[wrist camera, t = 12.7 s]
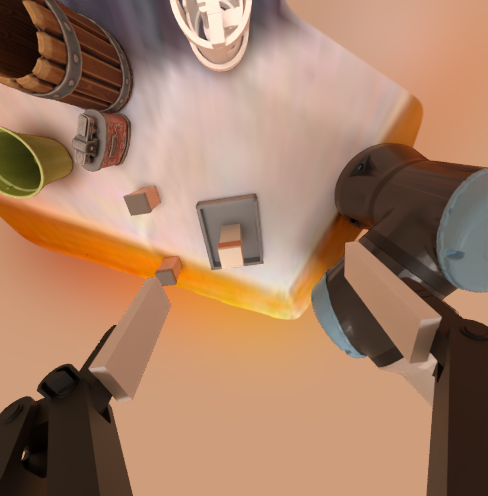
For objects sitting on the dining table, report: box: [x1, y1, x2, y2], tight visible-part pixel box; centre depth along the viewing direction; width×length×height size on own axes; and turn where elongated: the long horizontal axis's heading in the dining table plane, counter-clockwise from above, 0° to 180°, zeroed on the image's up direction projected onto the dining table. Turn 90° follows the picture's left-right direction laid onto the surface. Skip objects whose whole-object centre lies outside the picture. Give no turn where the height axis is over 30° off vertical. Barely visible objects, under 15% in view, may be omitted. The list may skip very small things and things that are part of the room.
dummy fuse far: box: [155, 256, 182, 286], centre depth 44 cm, size 3×3×6 cm
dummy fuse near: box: [124, 186, 161, 216], centre depth 37 cm, size 3×3×6 cm
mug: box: [0, 0, 132, 113], centre depth 23 cm, size 16×11×15 cm
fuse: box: [218, 223, 244, 269], centre depth 39 cm, size 4×4×10 cm
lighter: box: [72, 109, 131, 172], centre depth 31 cm, size 8×3×10 cm, turn 155°
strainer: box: [170, 0, 252, 72], centre depth 23 cm, size 7×7×15 cm
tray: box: [196, 194, 264, 270], centre depth 42 cm, size 11×14×3 cm
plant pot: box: [0, 126, 73, 199], centre depth 32 cm, size 9×9×9 cm
